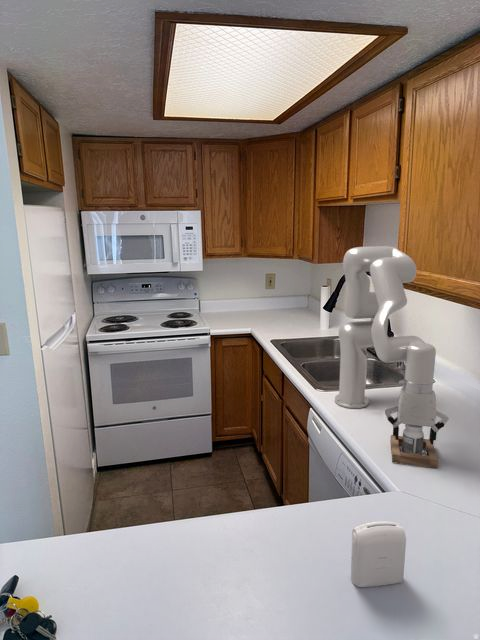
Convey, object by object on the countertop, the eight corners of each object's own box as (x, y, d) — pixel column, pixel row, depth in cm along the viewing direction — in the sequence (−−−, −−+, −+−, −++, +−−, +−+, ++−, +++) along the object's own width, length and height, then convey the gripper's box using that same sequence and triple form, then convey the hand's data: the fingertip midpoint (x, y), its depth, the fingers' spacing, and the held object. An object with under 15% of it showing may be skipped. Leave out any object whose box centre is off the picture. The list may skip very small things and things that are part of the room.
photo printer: (354, 590, 82) (357, 534, 79) (347, 572, 86) (349, 519, 83) (406, 585, 83) (411, 530, 80) (396, 567, 87) (400, 514, 84)
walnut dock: (390, 442, 135) (390, 434, 134) (431, 447, 132) (432, 439, 131) (392, 462, 124) (392, 454, 123) (437, 468, 120) (438, 460, 120)
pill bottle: (418, 449, 130) (421, 419, 128) (424, 459, 125) (427, 428, 123) (399, 448, 131) (401, 419, 129) (404, 459, 125) (406, 428, 123)
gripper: (386, 387, 122) (383, 442, 125) (453, 393, 117) (447, 450, 121) (386, 378, 129) (382, 430, 132) (449, 383, 124) (443, 437, 128)
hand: (413, 439), depth 127 cm, fingers open, 9 cm apart
